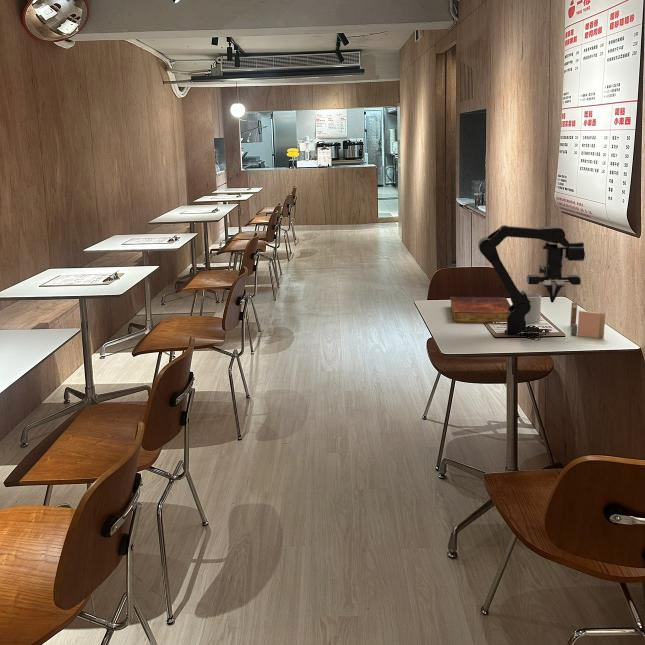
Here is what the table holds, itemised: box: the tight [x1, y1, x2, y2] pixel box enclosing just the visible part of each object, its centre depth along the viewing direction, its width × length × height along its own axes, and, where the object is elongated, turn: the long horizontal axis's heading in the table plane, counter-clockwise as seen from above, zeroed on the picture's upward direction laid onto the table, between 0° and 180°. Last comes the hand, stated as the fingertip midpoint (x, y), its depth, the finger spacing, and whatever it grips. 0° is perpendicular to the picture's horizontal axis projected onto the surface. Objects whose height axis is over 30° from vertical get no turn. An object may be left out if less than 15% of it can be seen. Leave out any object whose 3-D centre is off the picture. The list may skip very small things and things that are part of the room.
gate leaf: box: [577, 310, 606, 339], centre depth 295 cm, size 2×9×9 cm, turn 54°
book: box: [449, 296, 512, 324], centre depth 334 cm, size 30×24×5 cm
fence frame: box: [569, 301, 578, 336], centre depth 305 cm, size 2×16×10 cm, turn 164°
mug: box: [525, 292, 542, 325], centre depth 322 cm, size 12×8×11 cm
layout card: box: [564, 325, 606, 345], centre depth 300 cm, size 14×25×1 cm, turn 164°
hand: (552, 302), depth 301 cm, fingers closed
